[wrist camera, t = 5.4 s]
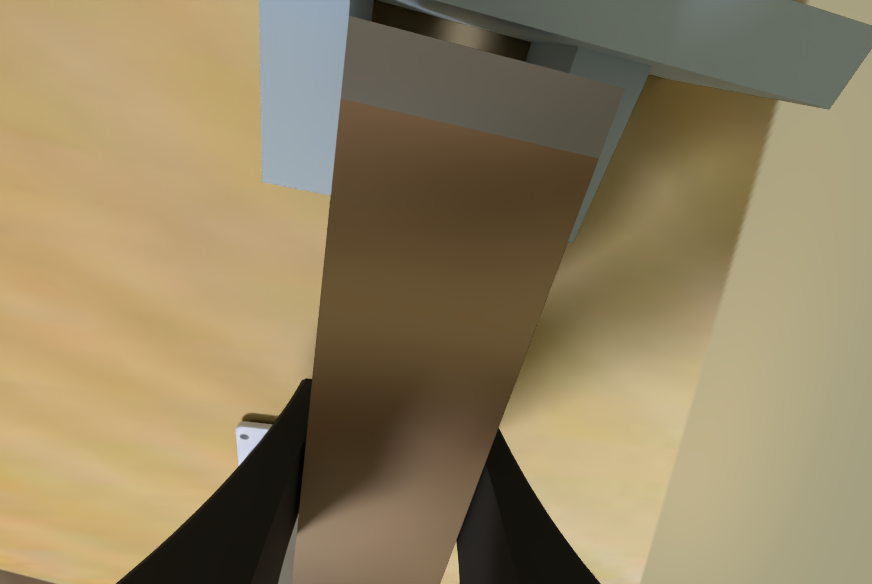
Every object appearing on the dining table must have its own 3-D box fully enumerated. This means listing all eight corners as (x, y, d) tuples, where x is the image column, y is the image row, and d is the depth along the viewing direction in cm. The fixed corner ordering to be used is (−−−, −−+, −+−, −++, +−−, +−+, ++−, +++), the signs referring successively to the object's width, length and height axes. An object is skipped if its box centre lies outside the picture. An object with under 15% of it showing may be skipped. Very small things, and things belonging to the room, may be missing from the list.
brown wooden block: (424, 468, 16) (429, 611, 12) (324, 458, 16) (289, 604, 11) (531, 92, 10) (625, 88, 6) (377, 53, 10) (349, 15, 5)
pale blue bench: (605, 205, 17) (700, 294, 11) (217, 122, 15) (85, 180, 9) (687, 30, 14) (885, 29, 8) (200, -113, 11) (-30, -262, 6)
